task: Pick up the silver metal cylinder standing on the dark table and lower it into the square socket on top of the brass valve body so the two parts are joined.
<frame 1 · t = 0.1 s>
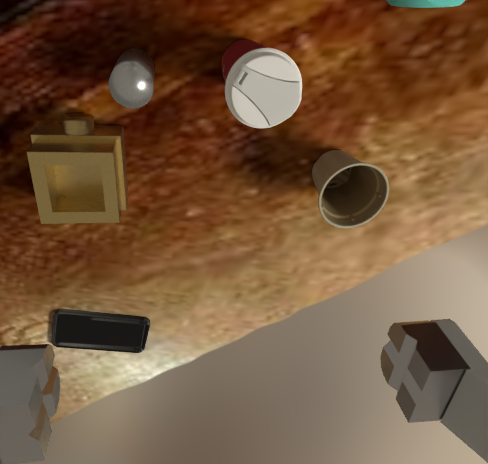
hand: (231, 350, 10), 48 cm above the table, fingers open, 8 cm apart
flower pot: (332, 169, 63), on the table
silver metal cylinder: (136, 68, 51), on the table
valve body: (86, 162, 56), on the table
paper cup: (244, 63, 53), on the table
phone: (102, 327, 72), on the table
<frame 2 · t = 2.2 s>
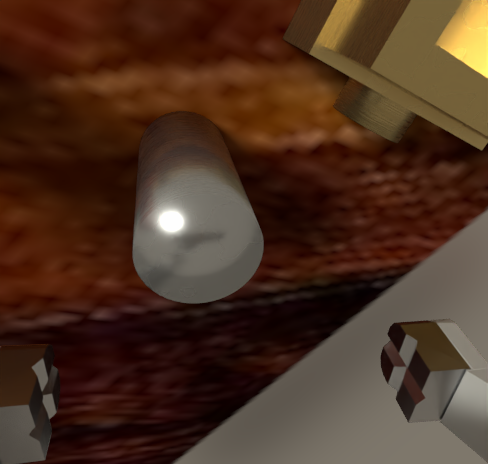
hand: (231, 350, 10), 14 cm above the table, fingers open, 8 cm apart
silver metal cylinder: (183, 154, 22), on the table
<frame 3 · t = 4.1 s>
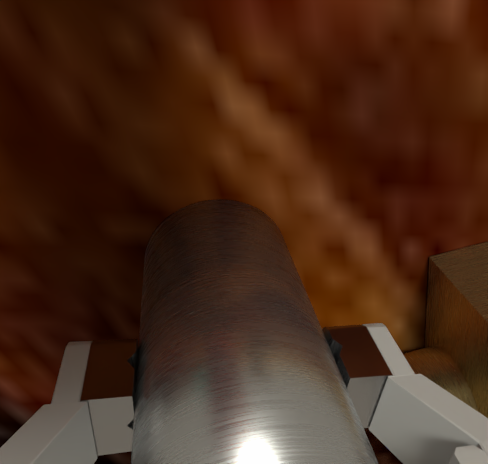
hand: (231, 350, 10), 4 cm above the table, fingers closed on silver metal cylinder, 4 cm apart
silver metal cylinder: (216, 262, 13), on the table, touching gripper
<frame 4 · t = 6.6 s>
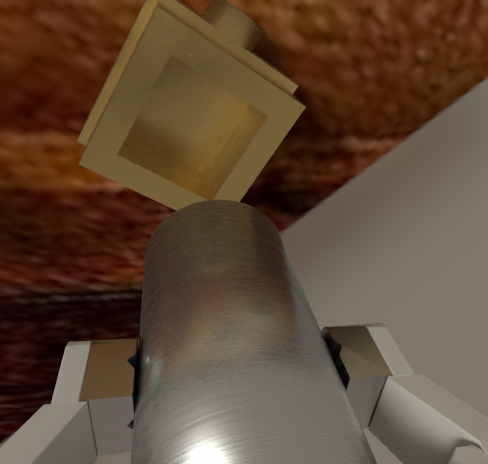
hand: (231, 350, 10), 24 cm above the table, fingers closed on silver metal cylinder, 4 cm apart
silver metal cylinder: (215, 261, 14), point 20 cm above the table, touching gripper
valve body: (185, 96, 30), on the table
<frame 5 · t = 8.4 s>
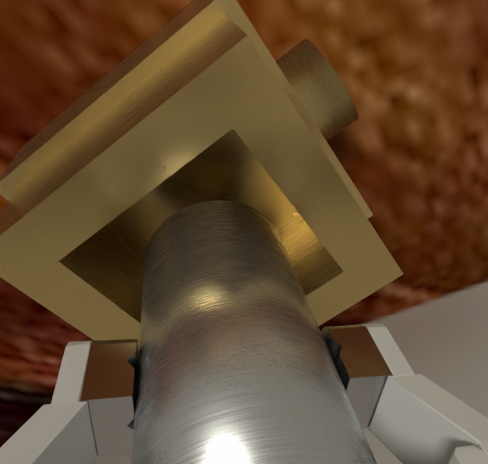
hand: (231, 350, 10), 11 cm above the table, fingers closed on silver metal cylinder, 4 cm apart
silver metal cylinder: (215, 261, 14), point 7 cm above the table, touching gripper
valve body: (194, 160, 19), on the table
when the fingers open (10 cm above the table, at t = 9.4 s): silver metal cylinder drops 2 cm, resting on valve body.
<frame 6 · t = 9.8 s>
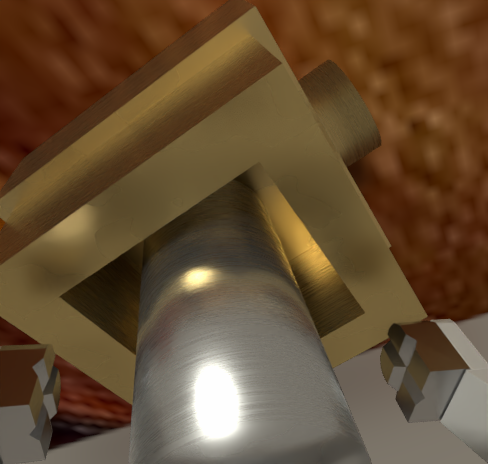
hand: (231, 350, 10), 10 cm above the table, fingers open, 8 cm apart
silver metal cylinder: (208, 233, 15), point 4 cm above the table, touching valve body
valve body: (203, 180, 18), on the table
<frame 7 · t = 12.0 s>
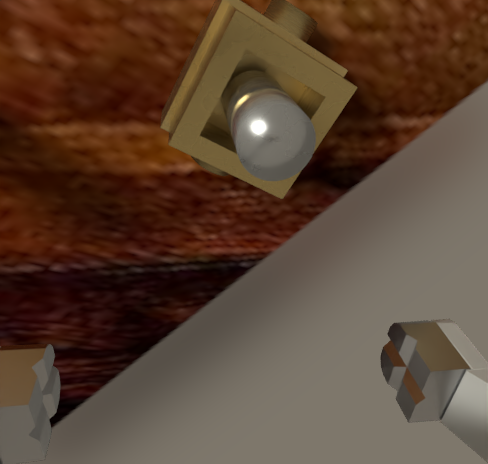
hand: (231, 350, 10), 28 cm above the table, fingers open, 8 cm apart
silver metal cylinder: (252, 102, 31), point 4 cm above the table, touching valve body
valve body: (246, 85, 35), on the table
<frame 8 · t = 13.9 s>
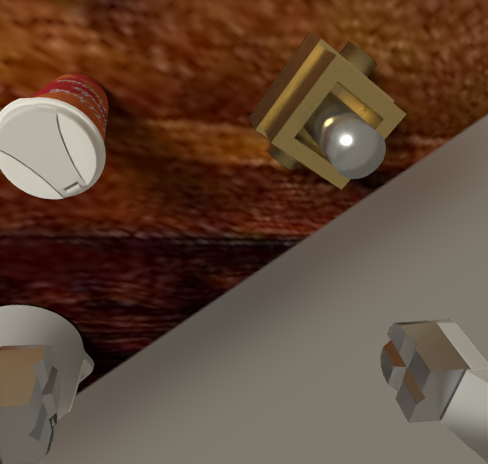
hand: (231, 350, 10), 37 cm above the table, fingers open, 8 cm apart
silver metal cylinder: (324, 117, 43), point 4 cm above the table, touching valve body
valve body: (313, 103, 46), on the table
paper cup: (79, 101, 42), on the table
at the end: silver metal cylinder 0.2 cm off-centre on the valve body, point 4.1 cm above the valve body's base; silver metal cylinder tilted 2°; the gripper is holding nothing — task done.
